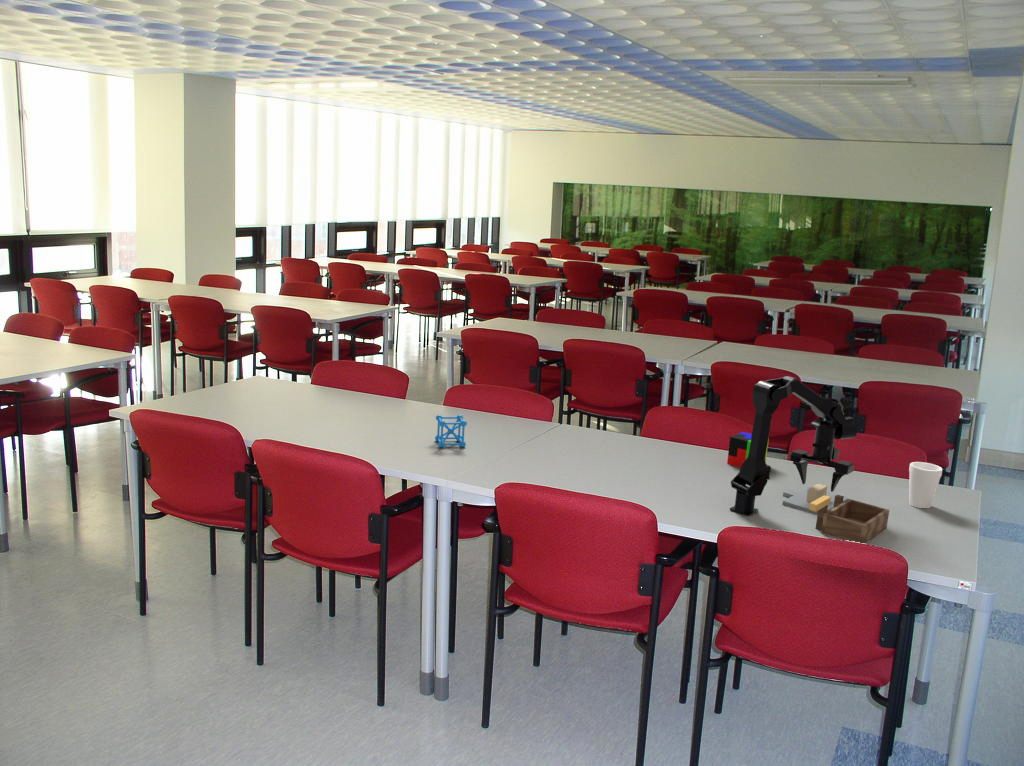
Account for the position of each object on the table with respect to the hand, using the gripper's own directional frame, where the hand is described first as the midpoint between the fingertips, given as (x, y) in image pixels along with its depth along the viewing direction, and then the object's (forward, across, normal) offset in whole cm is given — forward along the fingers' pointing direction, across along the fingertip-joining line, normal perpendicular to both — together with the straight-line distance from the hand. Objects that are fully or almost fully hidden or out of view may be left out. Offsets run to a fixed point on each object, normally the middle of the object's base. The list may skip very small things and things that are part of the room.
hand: (817, 487), depth 284 cm
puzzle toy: (+5, +34, -20) cm, 40 cm away
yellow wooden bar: (-2, -10, +24) cm, 26 cm away
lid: (+5, +2, 0) cm, 5 cm away
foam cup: (+5, -24, -25) cm, 35 cm away
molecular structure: (+5, +117, +46) cm, 126 cm away
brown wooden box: (+5, -17, +15) cm, 23 cm away
